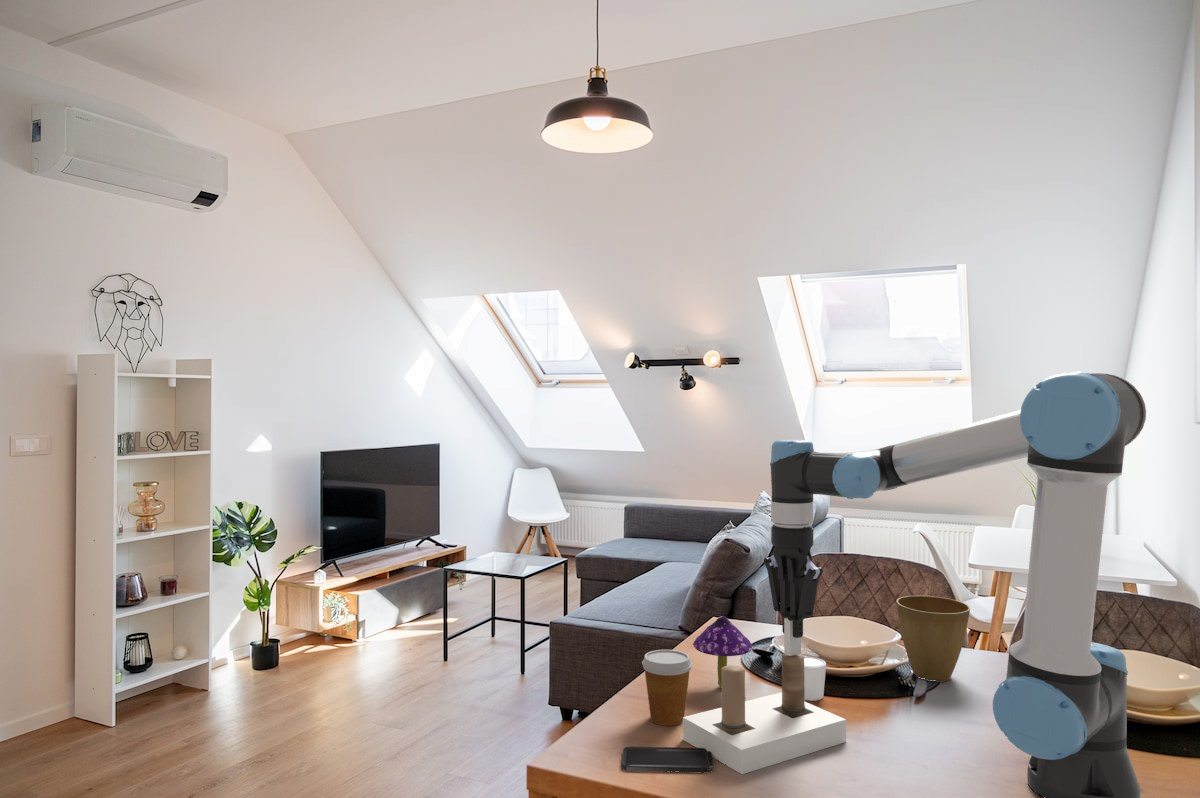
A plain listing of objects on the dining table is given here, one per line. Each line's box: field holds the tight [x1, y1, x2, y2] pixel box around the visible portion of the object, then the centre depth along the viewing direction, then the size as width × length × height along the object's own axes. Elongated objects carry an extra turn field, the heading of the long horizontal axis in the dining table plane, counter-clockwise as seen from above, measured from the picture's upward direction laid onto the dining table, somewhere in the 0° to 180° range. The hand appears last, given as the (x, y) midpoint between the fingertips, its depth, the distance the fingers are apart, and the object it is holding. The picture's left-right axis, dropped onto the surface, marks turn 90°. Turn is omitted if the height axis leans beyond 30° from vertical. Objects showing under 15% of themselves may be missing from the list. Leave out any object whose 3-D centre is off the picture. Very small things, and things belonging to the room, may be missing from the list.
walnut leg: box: [781, 653, 806, 718], centre depth 151 cm, size 4×4×14 cm
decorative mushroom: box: [692, 615, 753, 688], centre depth 175 cm, size 12×12×15 cm
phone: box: [621, 745, 714, 774], centre depth 140 cm, size 8×1×15 cm
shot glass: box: [804, 656, 827, 702], centre depth 170 cm, size 7×7×7 cm
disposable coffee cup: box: [641, 649, 693, 727], centre depth 158 cm, size 10×10×12 cm
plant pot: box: [896, 595, 971, 683], centre depth 181 cm, size 15×15×16 cm
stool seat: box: [682, 665, 847, 775], centre depth 148 cm, size 16×24×14 cm, turn 121°
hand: (792, 653), depth 151 cm, fingers closed
